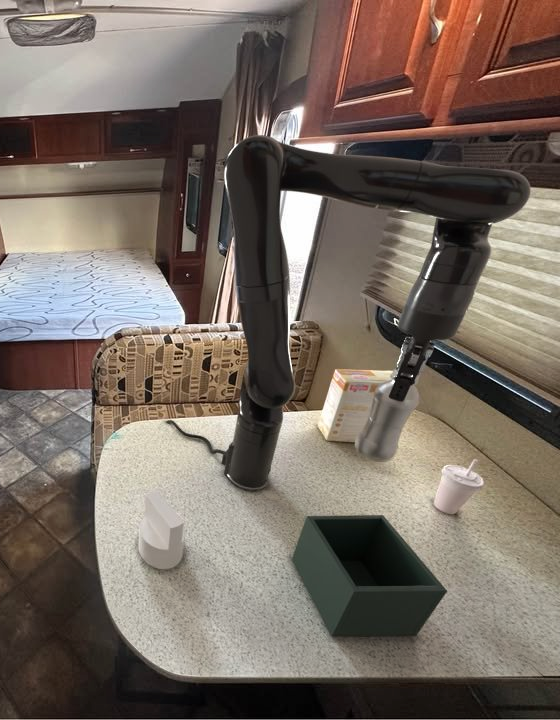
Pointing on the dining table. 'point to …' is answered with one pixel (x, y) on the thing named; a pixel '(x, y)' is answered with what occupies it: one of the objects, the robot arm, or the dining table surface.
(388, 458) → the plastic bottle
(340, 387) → the coffeecake box
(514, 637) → the dining table surface
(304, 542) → the trash bin
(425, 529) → the dining table surface
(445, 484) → the smoothie
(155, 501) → the base with upright slab
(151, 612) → the dining table surface
